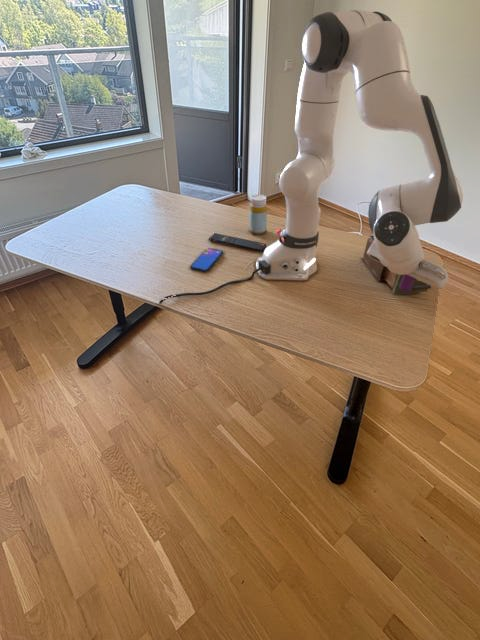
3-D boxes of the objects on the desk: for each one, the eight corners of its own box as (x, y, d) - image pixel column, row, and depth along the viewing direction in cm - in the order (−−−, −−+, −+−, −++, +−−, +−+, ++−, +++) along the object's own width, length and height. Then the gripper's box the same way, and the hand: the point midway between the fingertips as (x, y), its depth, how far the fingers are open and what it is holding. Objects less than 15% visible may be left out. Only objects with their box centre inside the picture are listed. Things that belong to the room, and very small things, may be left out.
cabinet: (413, 278, 121) (423, 253, 115) (378, 281, 120) (386, 256, 113) (394, 256, 132) (402, 233, 126) (362, 259, 131) (368, 235, 125)
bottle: (264, 235, 146) (266, 201, 137) (248, 234, 148) (248, 200, 138) (267, 228, 152) (268, 194, 142) (251, 227, 153) (251, 193, 143)
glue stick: (402, 291, 97) (411, 267, 92) (397, 285, 100) (405, 261, 94) (412, 290, 98) (422, 266, 92) (407, 284, 100) (416, 260, 95)
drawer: (434, 299, 110) (443, 279, 105) (399, 302, 109) (406, 282, 104) (407, 269, 124) (414, 250, 118) (376, 272, 123) (381, 252, 117)
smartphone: (189, 266, 127) (207, 247, 137) (189, 268, 128) (207, 249, 138) (206, 270, 125) (223, 250, 135) (207, 272, 126) (224, 252, 136)
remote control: (214, 235, 147) (214, 233, 146) (267, 247, 139) (267, 244, 138) (209, 241, 143) (208, 238, 142) (262, 253, 136) (262, 250, 135)
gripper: (453, 261, 79) (455, 281, 90) (374, 230, 90) (385, 250, 102) (436, 285, 79) (440, 301, 91) (361, 250, 91) (372, 269, 102)
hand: (410, 274), depth 96 cm, fingers closed on glue stick, 3 cm apart
